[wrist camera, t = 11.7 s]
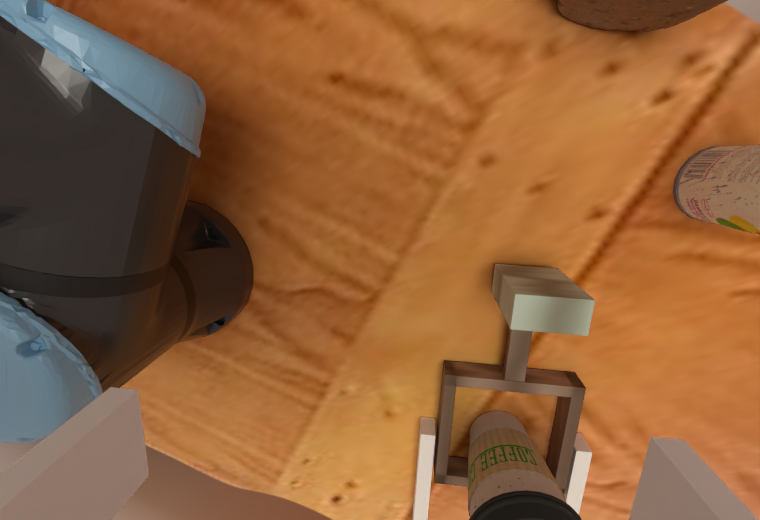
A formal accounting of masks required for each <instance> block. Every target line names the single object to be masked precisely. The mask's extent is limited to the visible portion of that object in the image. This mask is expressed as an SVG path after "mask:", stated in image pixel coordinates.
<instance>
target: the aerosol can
mask: <svg viewBox="0 0 760 520" xmlns="http://www.w3.org/2000/svg"><path fill="white" fill-rule="evenodd" d="M673 192H674V197H675V202H676V204H677V205H678V207H679V208H680V210H681V211H682V212H683V213H685V214H686V215H688V216H689V217H691V218H694V219H698V220H701V221H706V222H710V223H714V224H718V225H722V226H726V227H730V228H735V229H739V230H743V231H747V232H751V233H755V234H760V145H754V146H717V147H710V148H707V149H704V150H701V151H699V152H698V153H696V154H695V155H693V156H692V157H690V158H689V159H688V160H687V161H686V162H685V164H684V165H683V166H682V167H681V168H680V170H679V172H678V174H677V176H676V178H675V182H674V189H673Z"/></svg>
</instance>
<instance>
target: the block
mask: <svg viewBox="0 0 760 520" xmlns="http://www.w3.org/2000/svg"><path fill="white" fill-rule="evenodd" d="M726 1H728V0H557V6H558V10H559V11H560V12H561V14H562V15H563V16H564V17H566V18H568V19H570V20H572V21H575V22H577V23H580V24H583V25H586V26H589V27H592V28H599V29H605V30H614V29H618V30H622V31H639V30H642V31H653V30H657V29H661V28H668V27H671V26H674V25H677V24H679V23H682V22H684V21H686V20H689V19H691V18H693V17H695V16H697V15H698V14H701V13H703V12H705V11H707V10H709V9H711V8H713V7H715V6H717V5H719V4H721V3H724V2H726Z"/></svg>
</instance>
